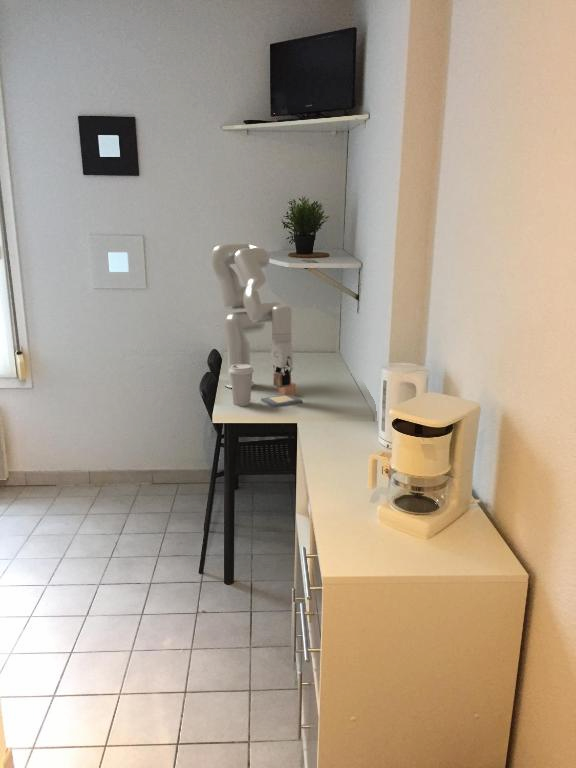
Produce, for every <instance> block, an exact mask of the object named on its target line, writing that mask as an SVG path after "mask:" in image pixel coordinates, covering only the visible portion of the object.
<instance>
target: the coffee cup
mask: <svg viewBox="0 0 576 768" xmlns="http://www.w3.org/2000/svg"><path fill="white" fill-rule="evenodd" d="M229 373H230V377H231V386H232V389H231V395H232V403H233V406H236V407H246V406H249V405H250V404H251V398H252V397H251V396H252V387H251V384H252V381H253V373H254V369H253V367H252V365H251V364H250V365H248V364H235V365H232V366H231V368H230V369H229Z"/></svg>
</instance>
